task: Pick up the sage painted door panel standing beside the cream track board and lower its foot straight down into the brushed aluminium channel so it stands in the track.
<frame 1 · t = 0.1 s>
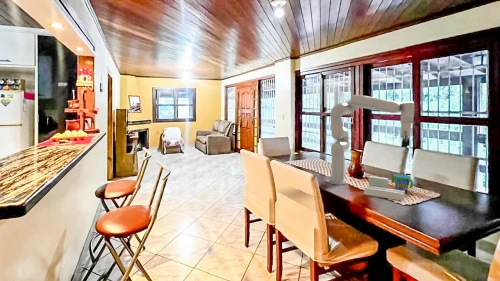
hand: (405, 146, 198), 31 cm above the table, tool pointing down, fingers open, 9 cm apart
track board: (383, 195, 194), on the table
snack cup: (401, 190, 207), on the table
door panel: (378, 190, 207), on the table
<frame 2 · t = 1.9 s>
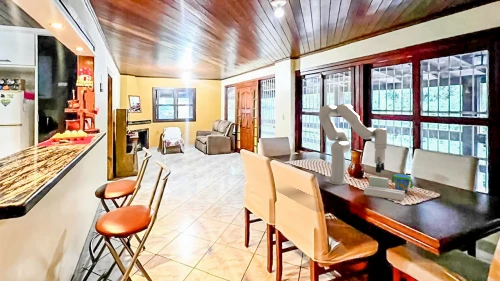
hand: (380, 171, 205), 13 cm above the table, tool pointing down, fingers open, 9 cm apart
nothing on the table moved.
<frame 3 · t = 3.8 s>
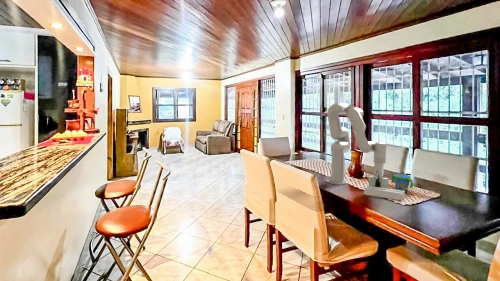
hand: (378, 186, 206), 3 cm above the table, tool pointing down, fingers closed on door panel, 3 cm apart
door panel: (378, 190, 207), on the table, touching gripper
everything else where it was.
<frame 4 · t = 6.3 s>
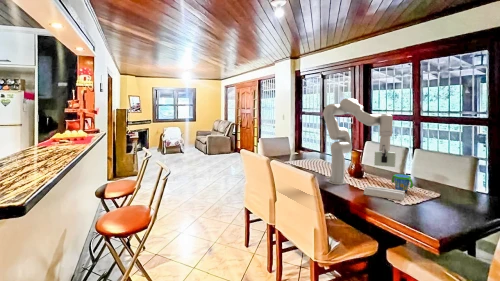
hand: (384, 161, 195), 22 cm above the table, tool pointing down, fingers closed on door panel, 3 cm apart
door panel: (384, 165, 195), point 19 cm above the table, touching gripper
everything else where it was.
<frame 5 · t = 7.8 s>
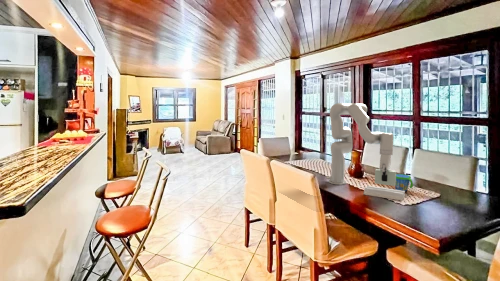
hand: (385, 180, 193), 10 cm above the table, tool pointing down, fingers closed on door panel, 3 cm apart
door panel: (384, 184, 193), point 8 cm above the table, touching gripper
everything else where it was.
when the fingers open (5 cm above the table, at t = 9.1 s): door panel drops 1 cm, resting on track board.
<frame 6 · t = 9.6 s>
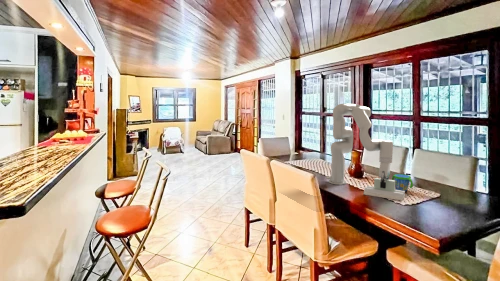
hand: (384, 186, 194), 6 cm above the table, tool pointing down, fingers open, 8 cm apart
door panel: (384, 193, 194), point 1 cm above the table, touching track board
everything else where it was.
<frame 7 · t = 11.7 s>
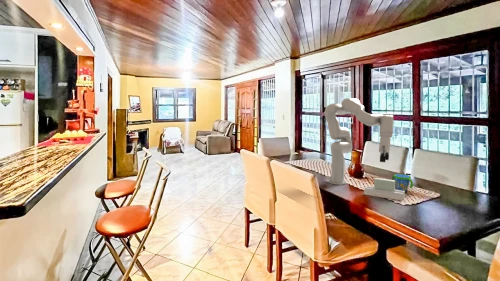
hand: (384, 160, 193), 23 cm above the table, tool pointing down, fingers open, 9 cm apart
nothing on the table moved.
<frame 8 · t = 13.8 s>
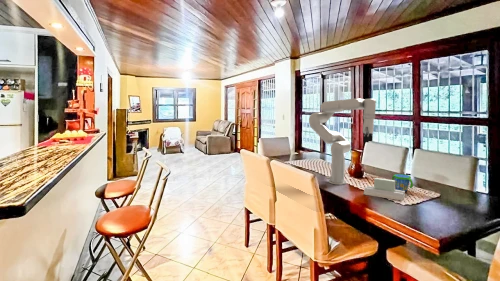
hand: (368, 141, 208), 33 cm above the table, tool pointing down, fingers open, 9 cm apart
nothing on the table moved.
at the end: door panel 0.1 cm off-centre on the track board, point 1.5 cm above the track board's base; door panel tilted 0°; the gripper is holding nothing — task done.
